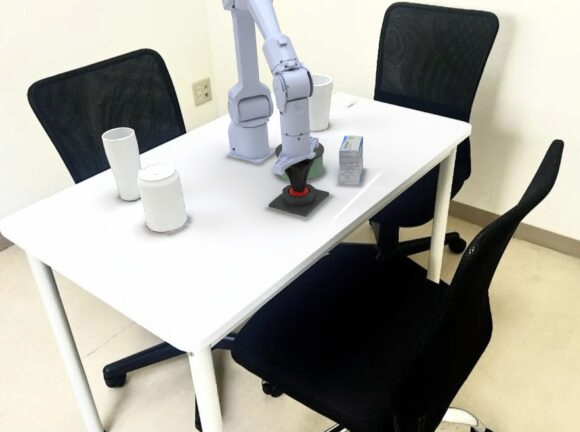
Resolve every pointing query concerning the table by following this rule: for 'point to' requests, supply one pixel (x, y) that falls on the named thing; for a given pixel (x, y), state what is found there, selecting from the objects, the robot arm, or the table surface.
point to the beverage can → (162, 197)
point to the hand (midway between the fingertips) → (298, 190)
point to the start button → (298, 192)
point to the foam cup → (320, 102)
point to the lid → (318, 150)
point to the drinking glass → (123, 160)
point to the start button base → (299, 201)
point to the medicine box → (351, 159)
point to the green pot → (311, 169)
